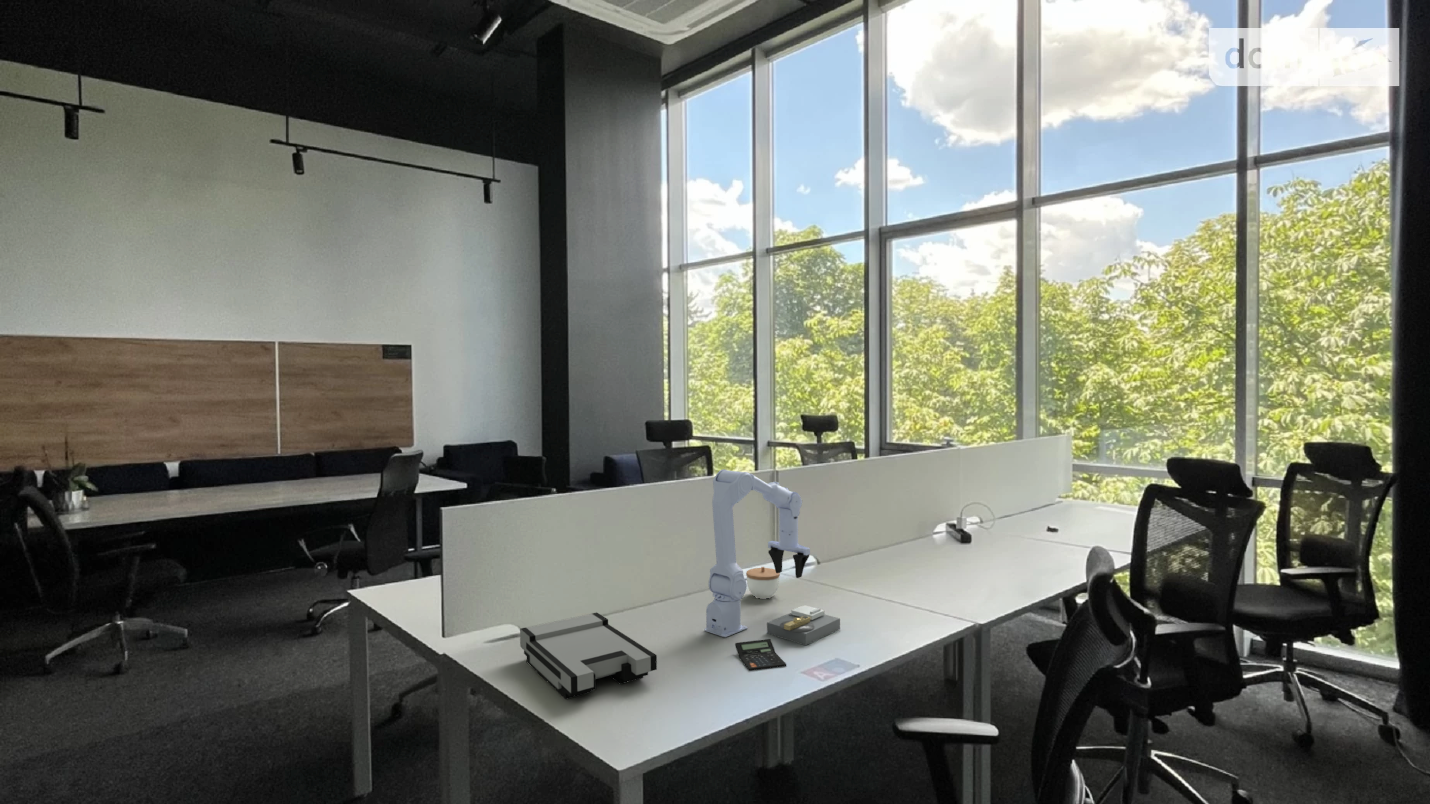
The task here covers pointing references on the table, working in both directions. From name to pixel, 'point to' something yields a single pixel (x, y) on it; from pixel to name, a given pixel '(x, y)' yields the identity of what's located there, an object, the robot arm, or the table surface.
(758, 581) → the lidded jar
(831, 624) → the grey flat block
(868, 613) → the table surface
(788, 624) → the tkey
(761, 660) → the calculator
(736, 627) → the robot arm
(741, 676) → the table surface
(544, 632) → the game console
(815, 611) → the hatch cover
